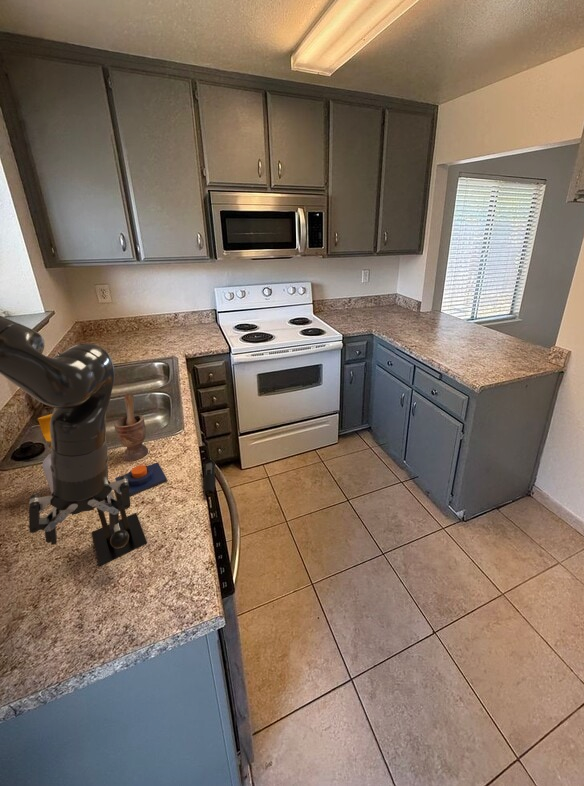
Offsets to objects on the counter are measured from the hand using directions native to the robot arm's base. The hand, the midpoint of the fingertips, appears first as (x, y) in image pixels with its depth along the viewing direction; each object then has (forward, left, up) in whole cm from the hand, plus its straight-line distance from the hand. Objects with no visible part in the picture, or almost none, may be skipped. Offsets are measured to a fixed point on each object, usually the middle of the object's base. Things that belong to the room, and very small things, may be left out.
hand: (83, 532), depth 64 cm
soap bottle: (-3, +49, -21) cm, 53 cm away
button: (+14, +37, -17) cm, 43 cm away
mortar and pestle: (+16, +56, -21) cm, 62 cm away
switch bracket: (+5, +18, -21) cm, 28 cm away
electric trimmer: (+31, +26, -21) cm, 45 cm away
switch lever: (+5, +14, -12) cm, 19 cm away
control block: (+14, +37, -21) cm, 44 cm away
